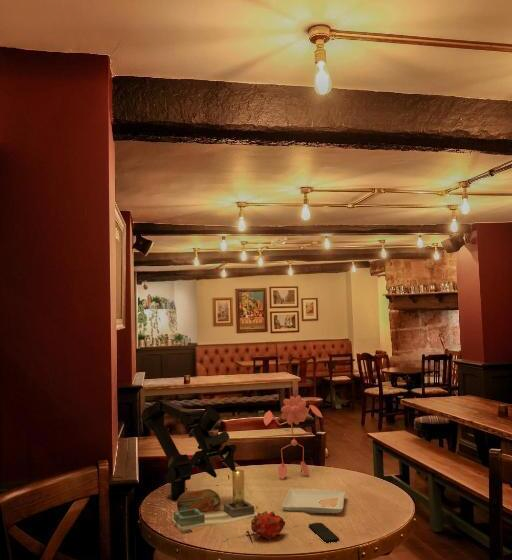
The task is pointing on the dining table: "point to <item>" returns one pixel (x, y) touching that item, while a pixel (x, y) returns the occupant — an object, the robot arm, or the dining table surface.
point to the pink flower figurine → (295, 414)
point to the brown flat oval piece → (199, 500)
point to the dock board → (211, 516)
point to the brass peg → (238, 488)
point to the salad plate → (313, 500)
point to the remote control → (323, 532)
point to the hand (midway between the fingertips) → (225, 474)
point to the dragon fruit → (267, 525)
